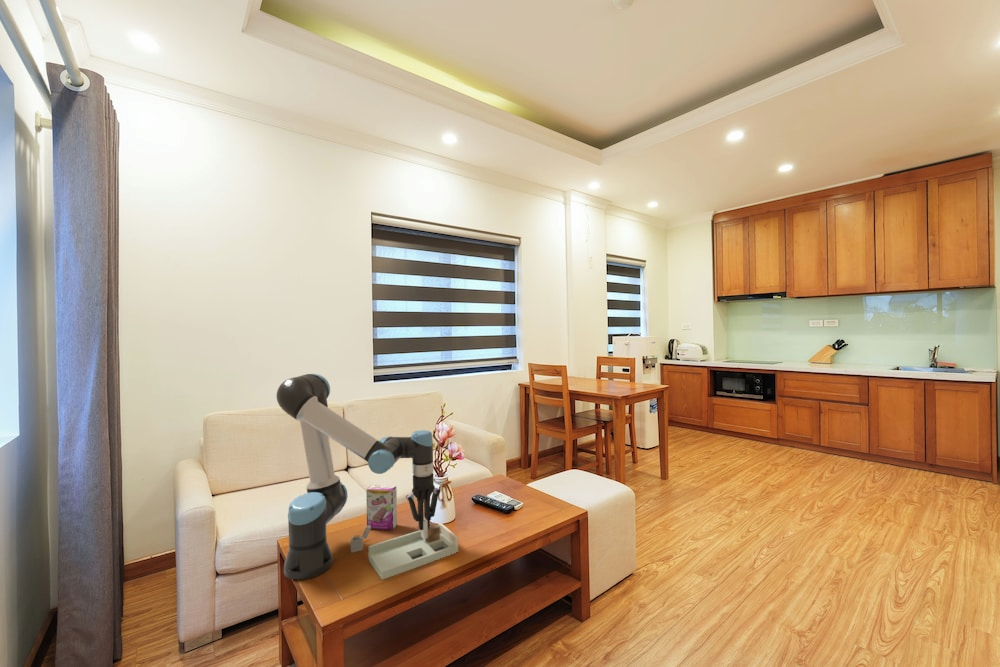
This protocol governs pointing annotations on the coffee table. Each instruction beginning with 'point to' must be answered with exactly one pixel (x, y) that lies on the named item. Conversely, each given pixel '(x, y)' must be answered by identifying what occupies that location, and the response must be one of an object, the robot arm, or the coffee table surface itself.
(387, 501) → the candy bar box
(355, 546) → the lighter
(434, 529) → the block
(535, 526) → the coffee table surface
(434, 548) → the board
